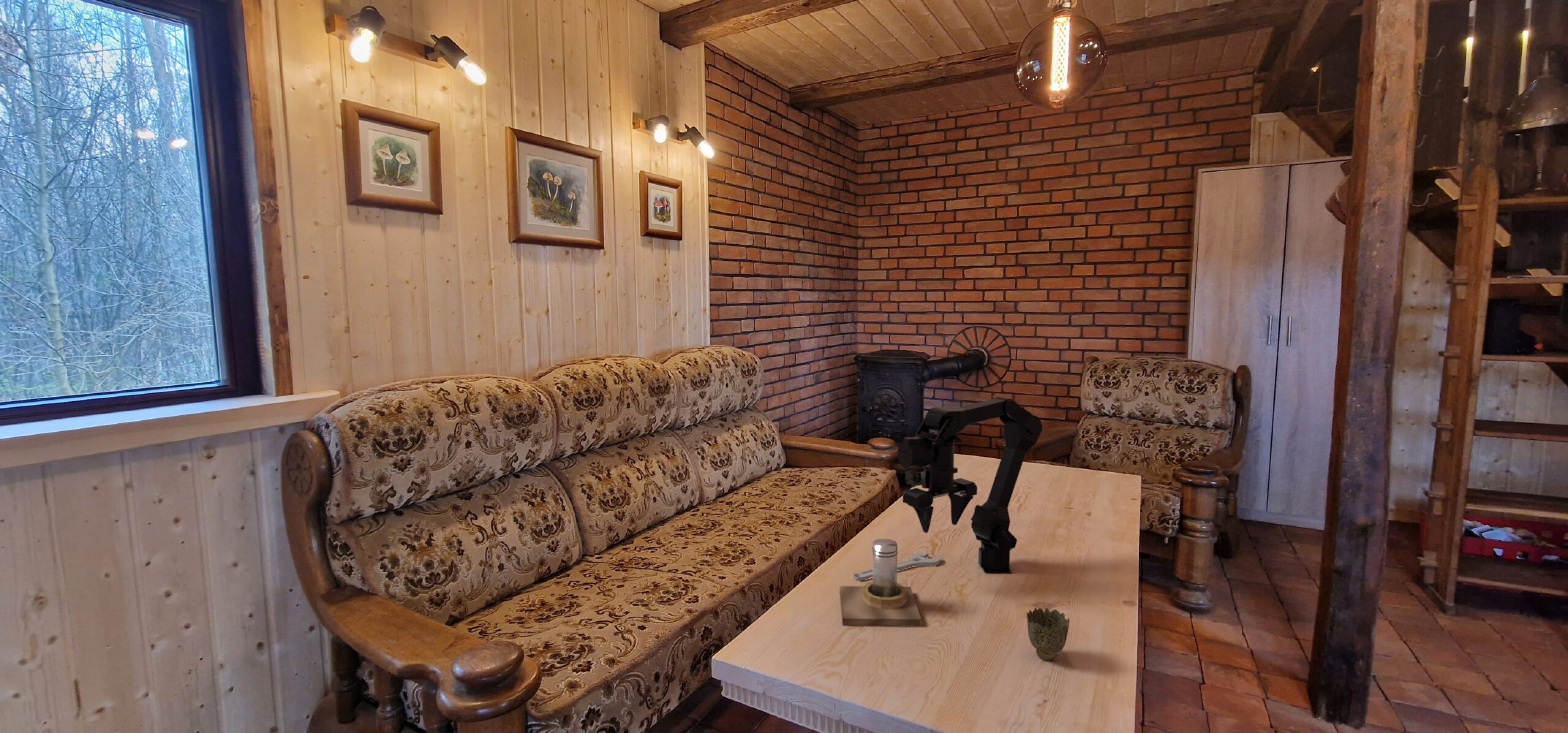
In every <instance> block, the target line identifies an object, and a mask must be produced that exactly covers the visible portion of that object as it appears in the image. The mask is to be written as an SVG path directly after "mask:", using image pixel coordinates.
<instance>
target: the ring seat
mask: <svg viewBox="0 0 1568 733" xmlns="http://www.w3.org/2000/svg"><path fill="white" fill-rule="evenodd" d="M839 600H840V612H841V623H842V626H867V627H868V626H872V627H873V625H876V626H877V627H879V626H878V625H897V626H896V627H900V626H899V625H906V626H905V627H922V618H921V615H920V612H919V607H918V604H917V603H916V599H915V596H914V593H913V590H912V587H911V586H903V585H902V584H900V583H898V582H897V596H895V597H891V598H888V597H878V596H874V595H873V581H870V582H867V583H866V584H865V585H864V586H863V585H862V586H861V585H859V586H858V585H857V586H856V585H854V586H853V585H847V586H846V585H839ZM907 625H909V626H907ZM911 625H913V626H911Z"/></svg>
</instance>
